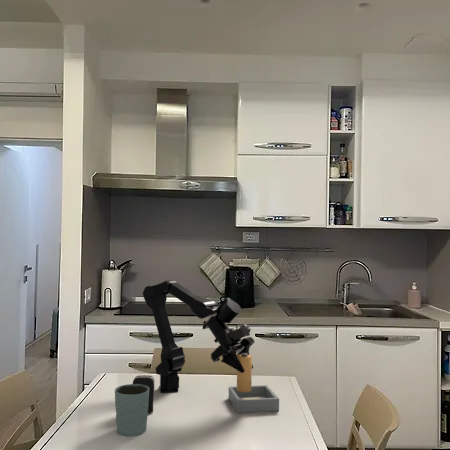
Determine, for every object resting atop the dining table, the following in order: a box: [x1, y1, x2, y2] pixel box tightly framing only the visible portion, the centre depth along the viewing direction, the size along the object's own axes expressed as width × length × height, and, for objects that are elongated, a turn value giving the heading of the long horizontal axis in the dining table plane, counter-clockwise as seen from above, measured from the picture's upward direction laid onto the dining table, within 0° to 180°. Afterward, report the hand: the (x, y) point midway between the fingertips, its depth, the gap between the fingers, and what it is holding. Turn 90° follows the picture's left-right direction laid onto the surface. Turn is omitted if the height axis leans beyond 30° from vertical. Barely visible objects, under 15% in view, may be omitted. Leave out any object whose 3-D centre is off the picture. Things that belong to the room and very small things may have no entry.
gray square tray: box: [228, 384, 280, 414], centre depth 164 cm, size 14×14×4 cm
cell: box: [236, 353, 253, 392], centre depth 157 cm, size 5×5×12 cm
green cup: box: [114, 383, 149, 437], centre depth 140 cm, size 10×10×12 cm
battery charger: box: [132, 375, 155, 414], centre depth 155 cm, size 7×4×11 cm, turn 93°
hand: (247, 370), depth 157 cm, fingers closed on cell, 5 cm apart
